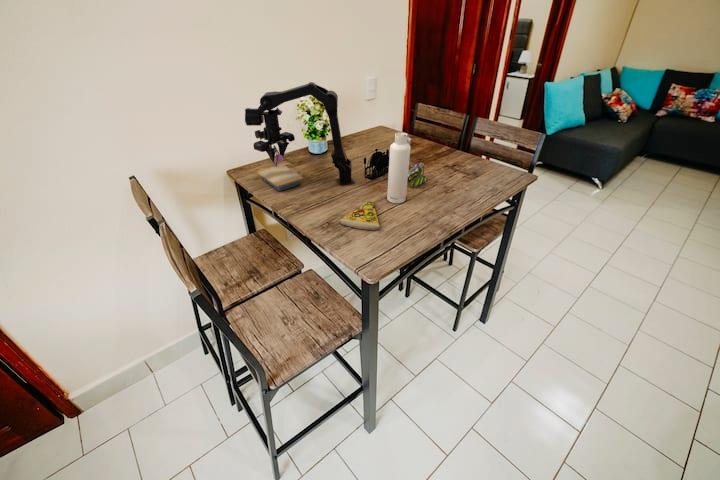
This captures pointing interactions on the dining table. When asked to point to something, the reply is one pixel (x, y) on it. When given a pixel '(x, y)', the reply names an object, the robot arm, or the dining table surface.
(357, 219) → the pizza slice
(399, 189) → the bottle
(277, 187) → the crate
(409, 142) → the drinking glass
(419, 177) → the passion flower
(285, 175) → the board
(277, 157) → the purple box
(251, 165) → the dining table surface
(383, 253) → the dining table surface
